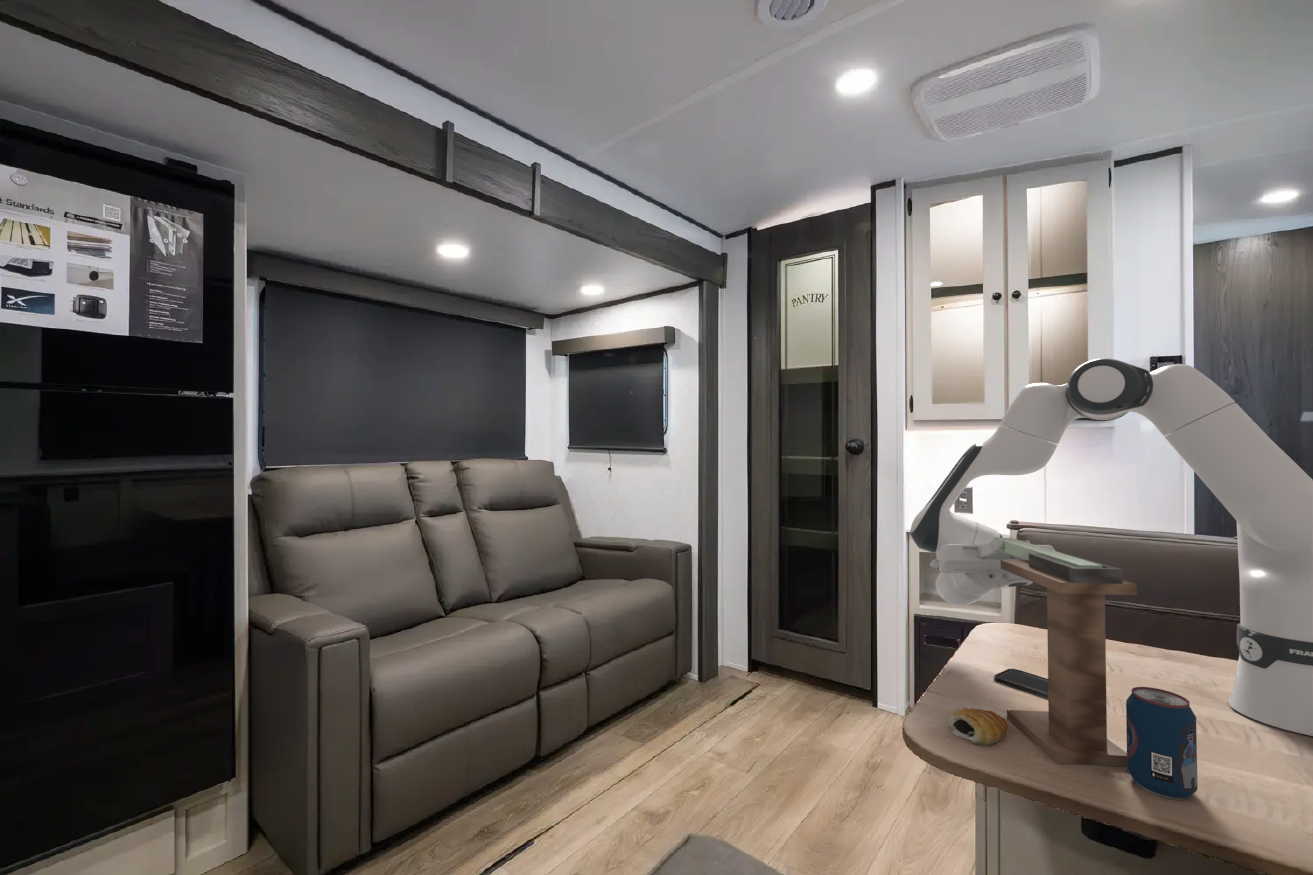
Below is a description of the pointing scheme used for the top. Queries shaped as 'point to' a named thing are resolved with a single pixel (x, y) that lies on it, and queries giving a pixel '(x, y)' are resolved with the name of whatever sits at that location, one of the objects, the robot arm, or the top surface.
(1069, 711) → the stand
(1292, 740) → the top surface
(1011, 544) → the slat
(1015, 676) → the phone
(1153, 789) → the soda can
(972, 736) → the pastry
